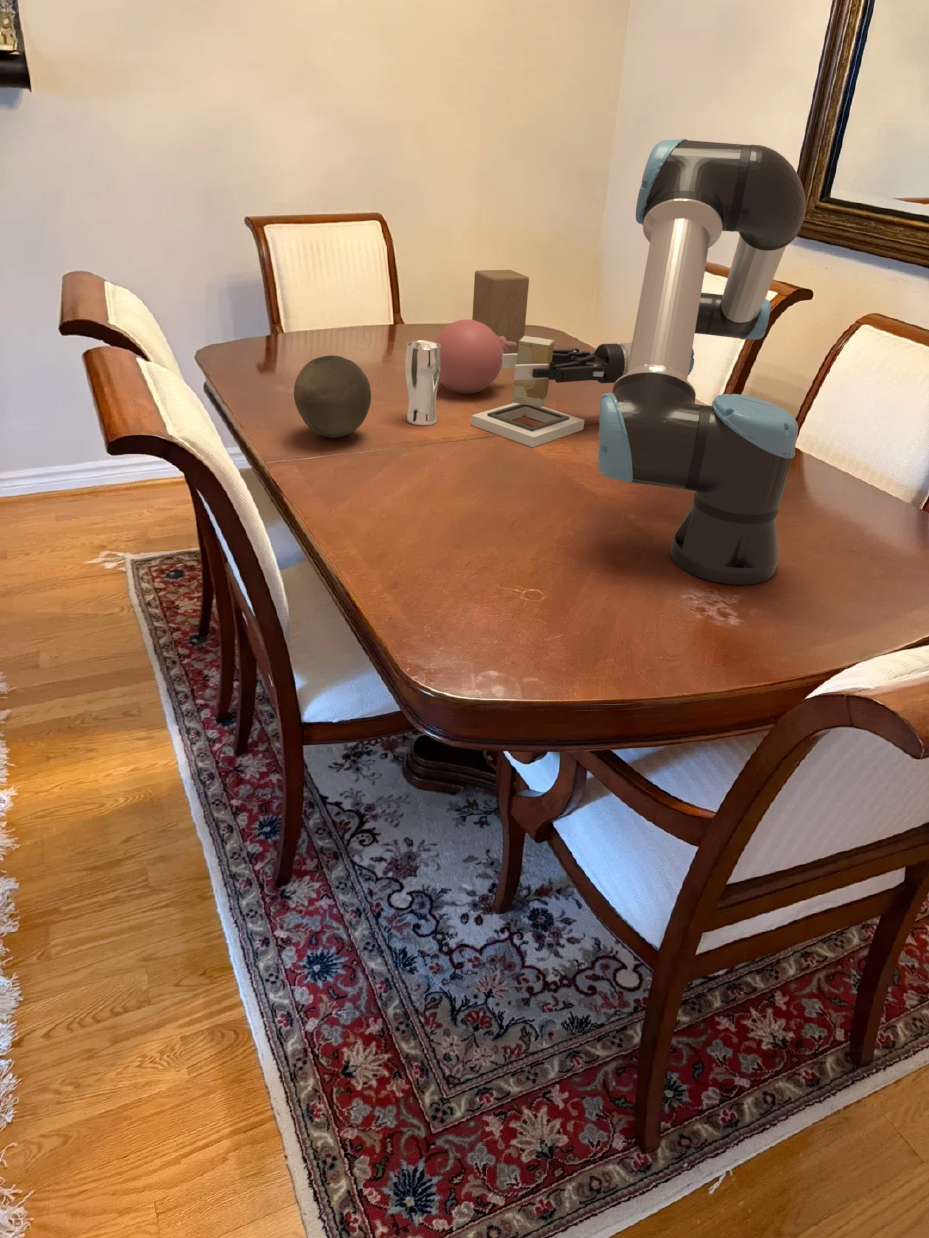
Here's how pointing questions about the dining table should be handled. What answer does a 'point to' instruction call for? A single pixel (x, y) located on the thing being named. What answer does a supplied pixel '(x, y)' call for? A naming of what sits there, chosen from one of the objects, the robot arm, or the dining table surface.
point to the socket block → (504, 425)
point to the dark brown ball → (332, 396)
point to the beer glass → (422, 380)
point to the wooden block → (501, 303)
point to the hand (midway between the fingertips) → (508, 366)
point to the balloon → (470, 355)
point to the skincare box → (533, 353)
